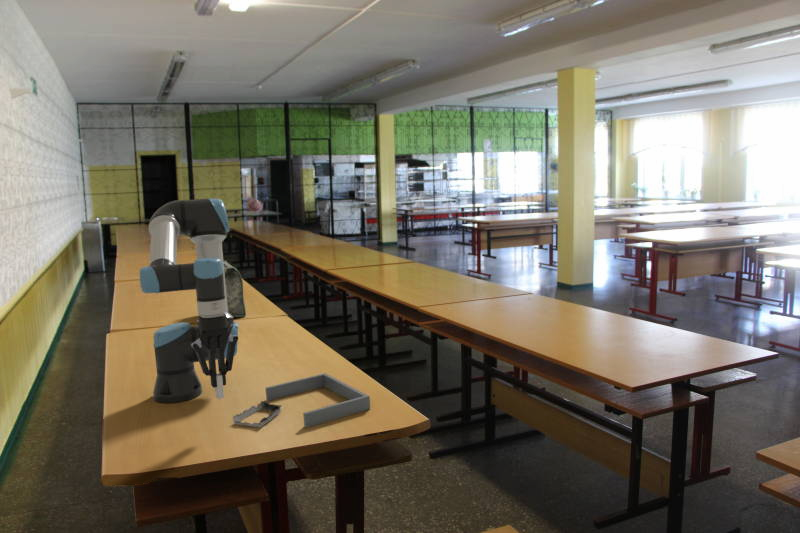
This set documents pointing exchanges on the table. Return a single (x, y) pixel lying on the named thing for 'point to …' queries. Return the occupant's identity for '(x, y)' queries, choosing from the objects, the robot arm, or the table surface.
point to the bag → (234, 291)
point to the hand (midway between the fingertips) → (219, 397)
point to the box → (328, 413)
